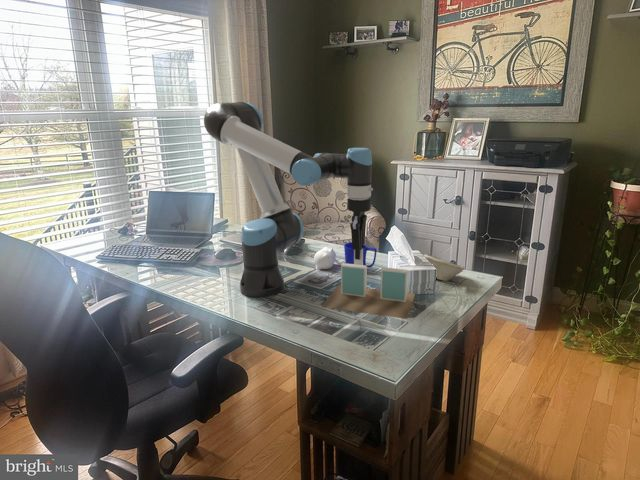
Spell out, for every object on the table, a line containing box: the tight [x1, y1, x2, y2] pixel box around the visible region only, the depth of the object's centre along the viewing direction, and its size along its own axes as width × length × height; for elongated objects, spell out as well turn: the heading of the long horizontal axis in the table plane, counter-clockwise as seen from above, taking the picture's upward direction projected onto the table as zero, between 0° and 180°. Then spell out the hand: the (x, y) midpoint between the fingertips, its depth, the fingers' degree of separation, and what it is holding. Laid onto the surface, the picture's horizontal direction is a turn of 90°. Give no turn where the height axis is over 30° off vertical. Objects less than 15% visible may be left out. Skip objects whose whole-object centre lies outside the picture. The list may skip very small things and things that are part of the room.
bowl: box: [422, 253, 465, 282], centre depth 158 cm, size 15×14×10 cm
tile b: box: [380, 266, 409, 302], centre depth 140 cm, size 8×2×10 cm, turn 71°
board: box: [321, 284, 416, 319], centre depth 141 cm, size 26×18×1 cm
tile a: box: [340, 262, 368, 297], centre depth 144 cm, size 8×2×10 cm, turn 71°
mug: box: [343, 241, 378, 268], centre depth 167 cm, size 8×12×10 cm
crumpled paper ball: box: [313, 246, 342, 271], centre depth 171 cm, size 9×11×12 cm
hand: (358, 267), depth 149 cm, fingers closed
